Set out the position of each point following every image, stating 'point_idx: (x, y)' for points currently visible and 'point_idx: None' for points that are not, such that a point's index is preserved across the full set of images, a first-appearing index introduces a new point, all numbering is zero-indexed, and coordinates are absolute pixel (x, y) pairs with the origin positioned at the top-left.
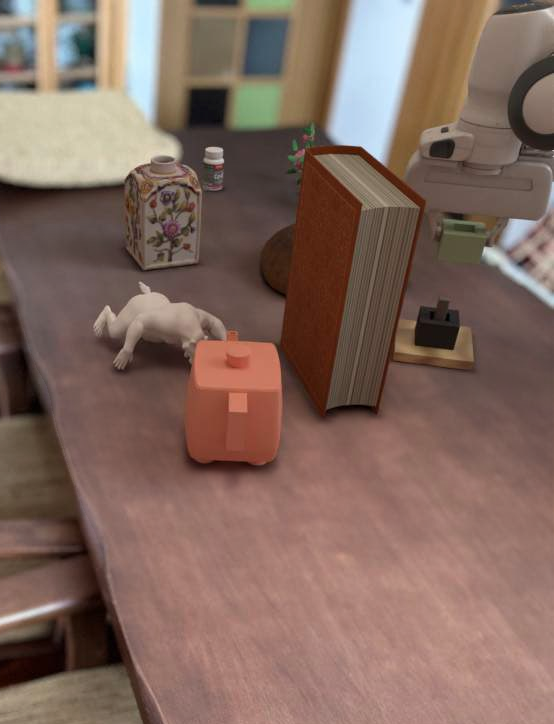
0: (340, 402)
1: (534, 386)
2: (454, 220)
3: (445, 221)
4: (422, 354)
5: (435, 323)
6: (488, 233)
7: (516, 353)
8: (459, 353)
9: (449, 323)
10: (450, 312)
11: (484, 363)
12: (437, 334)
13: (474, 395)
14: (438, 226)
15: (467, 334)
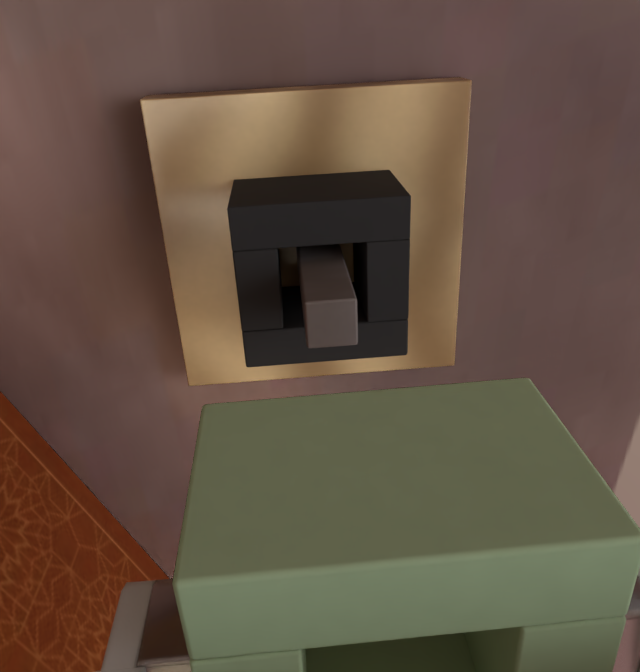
0: None
1: (623, 376)
2: (307, 594)
3: (211, 642)
4: (283, 373)
5: (308, 358)
6: (626, 653)
7: (624, 174)
8: (409, 325)
9: (365, 338)
10: (370, 234)
11: (494, 288)
12: None
13: None
14: (160, 668)
15: (450, 161)
